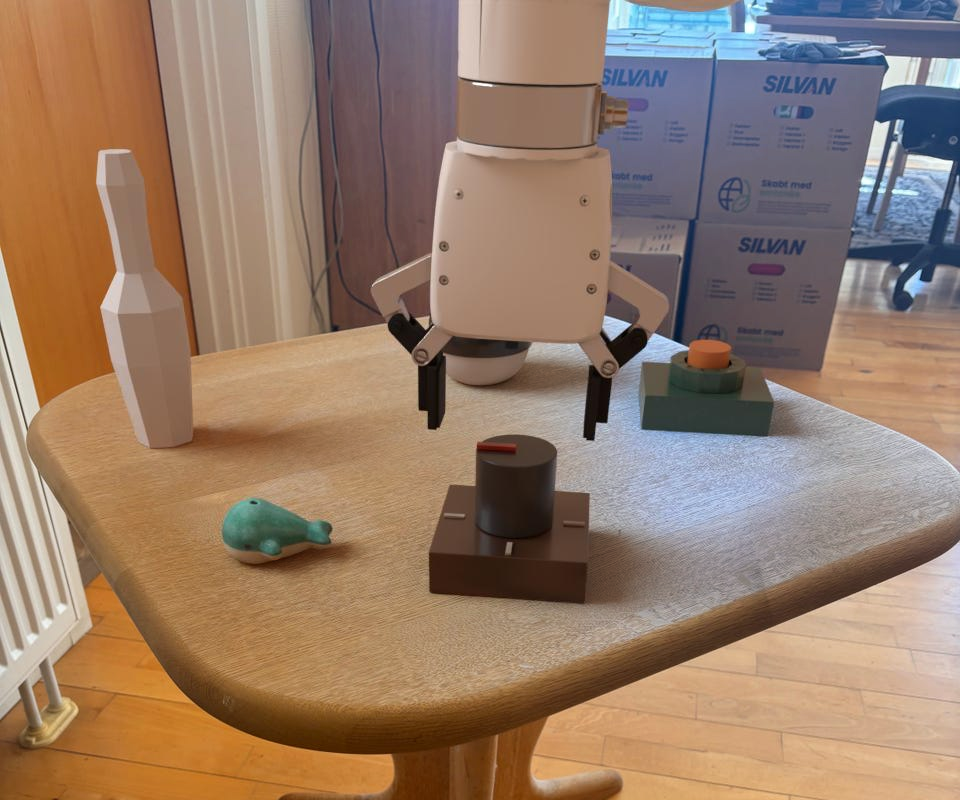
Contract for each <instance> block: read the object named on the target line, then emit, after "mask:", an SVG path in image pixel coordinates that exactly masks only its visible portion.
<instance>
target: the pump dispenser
mask: <svg viewBox="0 0 960 800" xmlns="http://www.w3.org/2000/svg"><path fill="white" fill-rule="evenodd" d="M432 322H433V321H432V317H431V309H430V310H429V317H428V325H427V326H428V327H429V326H430V324H431V323H432ZM428 327H427V328H428ZM533 343H534V342H524V341H507V340H492V339H478V338H466V337H458V336H453V337H452V338H451V339H450V340H449V341H448V342H447V344H446V345H445V346H444V347H443V348H442V349H441V351H442V352H443V356H446V376H448V377H450V378H451V379H453V380H454V381H457V382H459V383H462V384H465V385H470V386H491V385H496V384H501V383H502V382H505V381H507V380H509V379H511V378H512V377H513V376H514V375H515V374H517V373H518V372H519V371H520V369H521V368H522V366H523V365H524V363H525V361H526V359H527V356H528V354H529V350H530V348H531V347H532V346H533Z"/></svg>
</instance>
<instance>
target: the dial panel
mask: <svg viewBox="0 0 960 800" xmlns="http://www.w3.org/2000/svg"><path fill="white" fill-rule="evenodd" d="M590 499H591V493H590V492H583V491H582V492H579V491H564V490H563V491H561V490H555V497H554V512H553V523H552V525H551V527H550V528H549V529H548V530H547V531H545V532H544V533H541V534H539V535H536V536H532V537H526V538H506V537H500V536H496V535H493V534H490V533H487V532H486V531H484V530H482V529H481V528H480V527H479V526H478V525H477V523H476V521H475V485H466V484H449V486H448V488H447V491H446V495H445V499H444V501H443V504H442V507H441V511H440V514H439V518H438V521H437V525H436V528H435V531H434V534H433V537H432V541H431V543H430V547H429V551H428V590H429V593H436V594H447V595H448V594H449V595H461V596H462V595H464V596H478V597H491V598H506V599H518V600H519V599H520V600H532V601H533V600H534V601H547V602H560V603H561V602H563V603H578V604H584V603H585V598H586V597H585V596H586V588H587V587H586V586H587V575H588V566H589V533H590V506H591V505H590V504H591V503H590V501H591V500H590Z"/></svg>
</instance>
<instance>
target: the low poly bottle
mask: <svg viewBox="0 0 960 800" xmlns="http://www.w3.org/2000/svg"><path fill="white" fill-rule="evenodd" d="M95 179H96V180H95V181H96V182H95V184H96V188H97V190H98V195H99V198H100V201H101V202H100V203H101V207H102V209H103V213H104V216H105V220H106V224H107V227H108V233H109V238H110V243H111V249H112V252H113V258H114V263H115V269H116V273H115V274H114V276H113V279H112V281H111V283H110V285H109V287H108V289H107V292H106V294H105V296H104V298H103V300H102V303H101V305H100V307H99V308H100V312H101V317H102V322H103V328H104V332H105V337H106V341H107V347H108V352H109V357H110V361H111V365H112V367H113V370H114V373H115V376H116V379H117V382H118V386H119V389H120V391H121V394H122V397H123V401H124V403H125V406H126V410H127V412H128V415H129V417H130V418H129V419H130V421H131V424H132V427H133V430H134V434H135V436H136V439H137V442H138V443H139V444H141V445H143V446H145V447H147V448H149V449H162V448H174V447H177V446H180V445H181V446H182V445H185V444H186V443H189V442H192V441H193V438H194V437H193V436H194V414H193V413H194V407H193V384H192V383H193V381H192V354H191V353H192V351H191V344H190V337H189V331H188V325H187V319H186V312H185V305H184V299H183V296H181V294H180V293H179V292H178V290H176V289H175V287H174V286H173V285H172V284H171V283H170V282H169V281H168V280H167V278H165V276H164V275H163V274H162V273H161V272H160V271H159V270H158V268H157V267H156V264H155V259H154V253H153V247H152V246H153V245H152V241H151V240H152V239H151V235H150V229H149V222H148V209H147V198H146V197H147V196H146V186H145V185H146V184H145V179H144V177H143V174H142V172H141V169H140V167H139V165H138V162H137V160H136V158H135V156H134V153H133V151H132V150H131V149H125V148H110V149H101V150H99V151H98V153H97V167H96V178H95Z"/></svg>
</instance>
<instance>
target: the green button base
mask: <svg viewBox="0 0 960 800" xmlns="http://www.w3.org/2000/svg"><path fill="white" fill-rule="evenodd" d="M688 353H689V349H688V350H687V349H686V350H681V351H678V352H676V353H674V354H672V355H671V356H670V358H669V362H656V361H655V362H653V361H641V367H640V376H639V385H638V393H637V395H638V406H639V420H640V430H641V431H656V432H657V431H658V432H659V431H660V432H674V433H693V434H712V435H729V436H730V435H731V436H749V437H766V438H767V437H769V432H770V426H771V422H772V416H773V411H774V406H775V401H774V398H773V395H772V393H771V391H770V388H769V385H768V383H767V381H766V378H765V375H764V373H763V370H762V368H761V367H756V366H754V367H753V366H747V365H746V363H745V359H742V358H740V357H738V356H737V355H734V354H732V353H730V358H729V364H728V368H723V369H702V368H698V367H694V366H691V365H689V364H687V360H688Z"/></svg>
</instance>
